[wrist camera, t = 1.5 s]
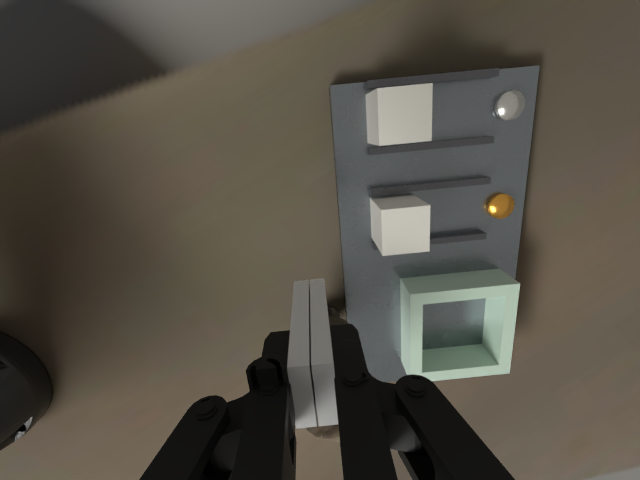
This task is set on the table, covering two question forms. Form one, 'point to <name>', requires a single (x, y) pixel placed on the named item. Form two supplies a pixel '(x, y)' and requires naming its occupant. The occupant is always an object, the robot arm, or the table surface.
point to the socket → (467, 358)
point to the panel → (433, 201)
